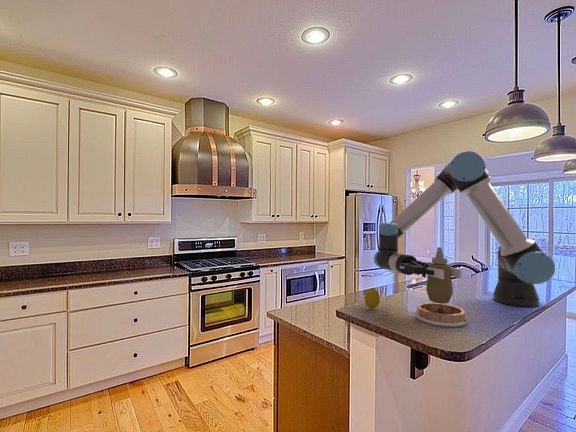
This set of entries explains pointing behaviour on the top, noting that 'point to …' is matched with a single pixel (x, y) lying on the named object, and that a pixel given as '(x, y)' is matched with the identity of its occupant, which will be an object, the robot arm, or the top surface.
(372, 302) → the lemon
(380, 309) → the top surface
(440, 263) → the squeeze bottle
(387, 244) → the robot arm
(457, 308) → the flange seat
